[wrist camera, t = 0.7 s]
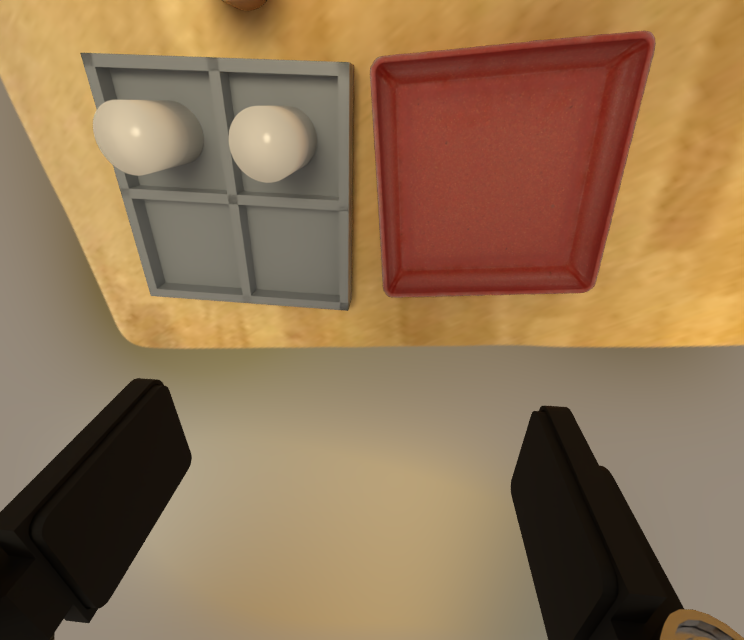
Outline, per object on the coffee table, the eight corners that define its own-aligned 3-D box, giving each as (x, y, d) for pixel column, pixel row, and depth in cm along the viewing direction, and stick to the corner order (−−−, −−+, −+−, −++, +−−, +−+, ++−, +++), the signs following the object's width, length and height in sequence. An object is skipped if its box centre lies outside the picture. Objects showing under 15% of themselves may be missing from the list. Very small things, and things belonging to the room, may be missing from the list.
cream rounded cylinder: (256, 104, 29) (223, 104, 24) (316, 106, 28) (294, 107, 23) (263, 168, 31) (234, 180, 26) (318, 171, 31) (299, 184, 26)
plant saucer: (580, 278, 35) (595, 294, 32) (385, 284, 37) (383, 299, 34) (633, 36, 26) (661, 27, 23) (372, 61, 28) (368, 56, 25)
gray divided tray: (103, 56, 29) (80, 52, 27) (353, 65, 28) (349, 62, 26) (164, 285, 39) (150, 295, 37) (351, 299, 37) (348, 310, 35)
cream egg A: (140, 99, 29) (82, 98, 24) (197, 101, 29) (151, 101, 24) (155, 162, 32) (105, 173, 26) (208, 165, 31) (168, 177, 26)
